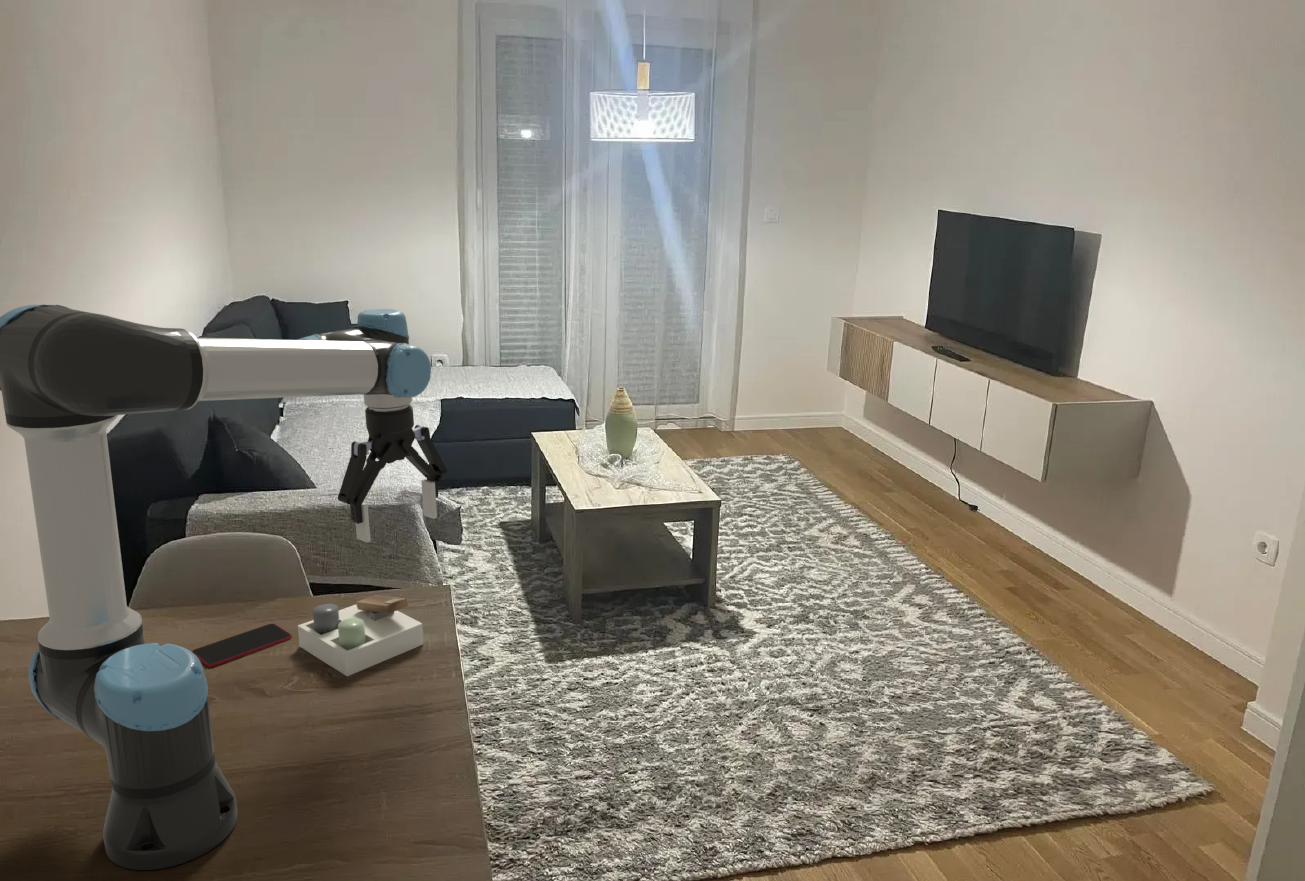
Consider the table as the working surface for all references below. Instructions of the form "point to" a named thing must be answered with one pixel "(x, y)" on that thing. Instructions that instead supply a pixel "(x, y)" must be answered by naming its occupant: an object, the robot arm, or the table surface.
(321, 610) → the button graphite
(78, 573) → the robot arm
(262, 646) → the smartphone
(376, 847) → the table surface
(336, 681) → the table surface
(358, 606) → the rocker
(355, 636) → the button sage
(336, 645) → the panel
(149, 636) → the table surface
